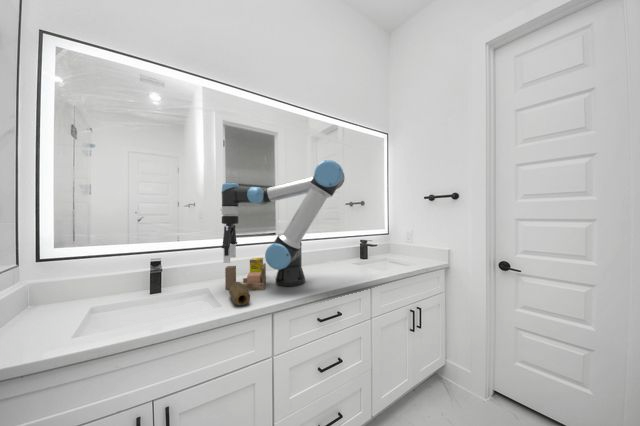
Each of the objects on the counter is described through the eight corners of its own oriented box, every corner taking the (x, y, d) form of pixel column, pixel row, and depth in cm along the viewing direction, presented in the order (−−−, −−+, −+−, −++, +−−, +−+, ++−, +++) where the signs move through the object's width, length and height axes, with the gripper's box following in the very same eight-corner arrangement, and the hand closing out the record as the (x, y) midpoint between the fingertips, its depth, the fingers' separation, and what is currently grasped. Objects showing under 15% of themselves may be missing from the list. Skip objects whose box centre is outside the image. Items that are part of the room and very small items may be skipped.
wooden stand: (265, 282, 122) (265, 263, 122) (264, 289, 111) (264, 268, 111) (243, 284, 120) (243, 264, 120) (239, 291, 109) (239, 269, 109)
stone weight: (225, 297, 101) (225, 282, 101) (242, 294, 105) (242, 279, 105) (234, 309, 88) (234, 291, 88) (253, 305, 92) (253, 287, 92)
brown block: (261, 283, 119) (261, 264, 120) (260, 288, 113) (260, 267, 113) (228, 285, 117) (227, 265, 117) (224, 290, 110) (224, 268, 110)
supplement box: (260, 279, 128) (260, 259, 128) (249, 279, 128) (249, 259, 128) (263, 276, 134) (263, 257, 134) (252, 277, 134) (252, 257, 134)
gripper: (227, 215, 126) (227, 255, 126) (214, 215, 101) (214, 265, 101) (242, 215, 127) (242, 255, 127) (233, 215, 102) (233, 265, 102)
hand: (230, 259), depth 114 cm, fingers open, 13 cm apart
